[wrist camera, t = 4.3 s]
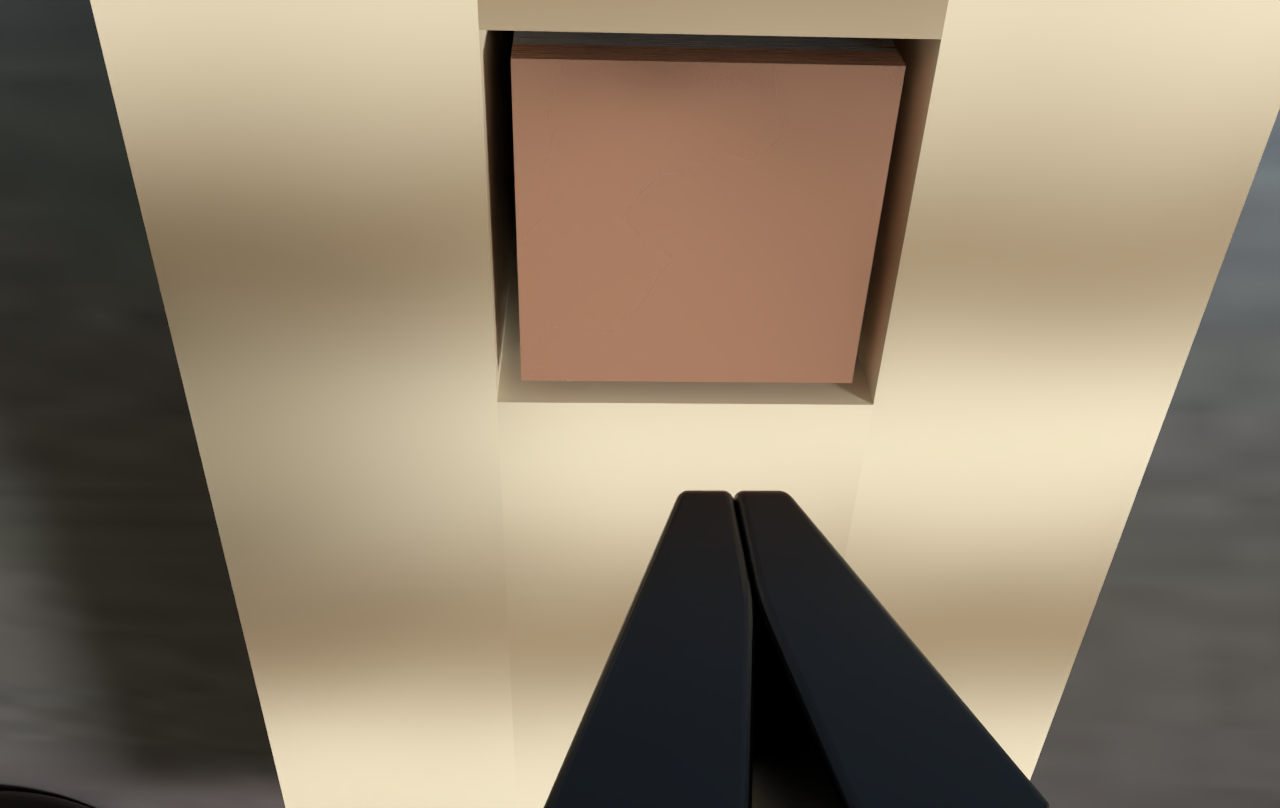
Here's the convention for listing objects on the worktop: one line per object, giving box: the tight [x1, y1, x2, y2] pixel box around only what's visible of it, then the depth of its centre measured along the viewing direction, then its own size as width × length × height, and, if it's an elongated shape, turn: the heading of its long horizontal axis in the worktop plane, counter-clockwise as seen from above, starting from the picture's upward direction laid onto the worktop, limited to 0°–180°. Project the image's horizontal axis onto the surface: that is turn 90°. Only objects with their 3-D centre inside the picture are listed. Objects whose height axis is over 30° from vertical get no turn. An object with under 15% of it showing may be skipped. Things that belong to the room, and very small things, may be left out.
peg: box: [511, 31, 906, 383], centre depth 16 cm, size 4×4×6 cm
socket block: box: [90, 0, 1280, 808], centre depth 20 cm, size 20×12×6 cm, turn 178°
